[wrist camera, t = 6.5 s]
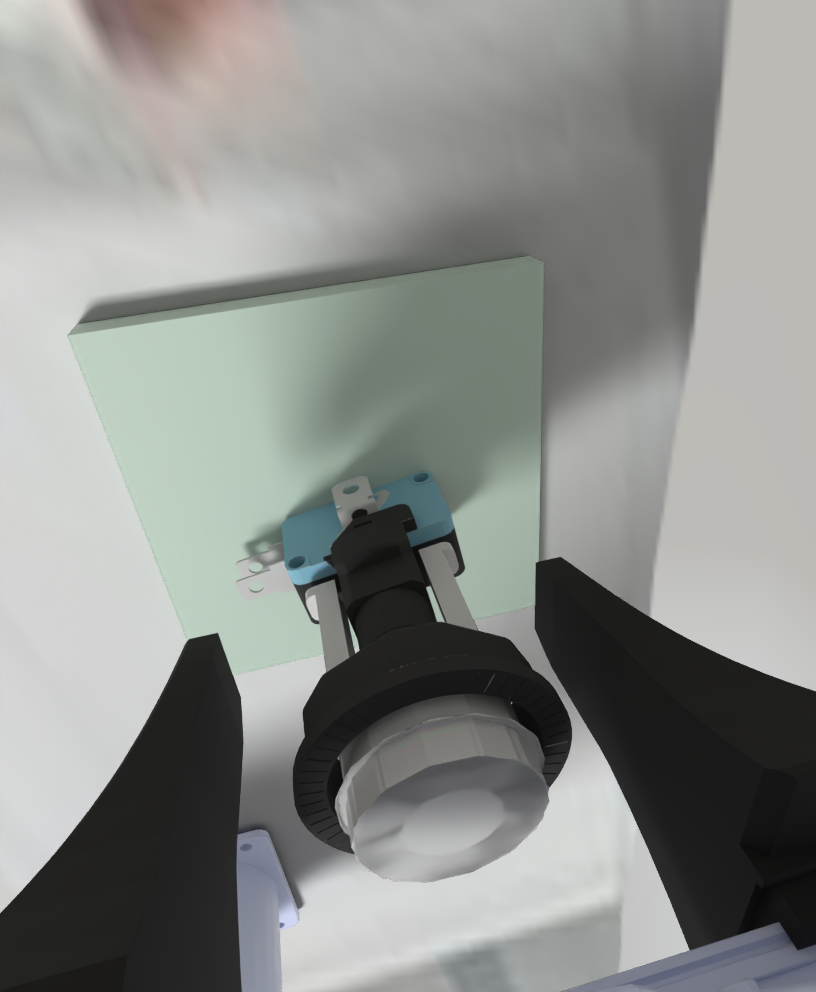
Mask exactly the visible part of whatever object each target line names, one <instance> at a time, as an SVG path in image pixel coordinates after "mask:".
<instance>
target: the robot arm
mask: <svg viewBox="0 0 816 992" xmlns="http://www.w3.org/2000/svg"><path fill="white" fill-rule="evenodd" d="M535 630H536V632H537V635H538V637H539V639H540V642H541V644H542V647H543V649H544V651H545V653H546V656H547V658H548V660H549V662H550V664H551V667H552V668H553V670H554V672H555V673H556V675H557V677H558V679H559V680H560V682H561V684H562V685H563V687H564V689H565V690H566V692H567V694H568V695H569V697H570V699H571V700H572V702H573V704H574V705H575V707H576V709H577V710H578V712H579V714H580V715H581V717H582V719H583V720H584V722H585V724H586V725H587V727H588V729H589V730H590V732H591V734H592V735H593V737H594V739H595V740H596V742H597V744H598V745H599V747H600V749H601V750H602V752H603V754H604V756H605V758H606V760H607V761H608V763H609V765H610V767H611V769H612V771H613V773H614V776H615V778H616V780H617V782H618V784H619V786H620V788H621V790H622V792H623V795H624V797H625V799H626V801H627V803H628V805H629V807H630V810H631V812H632V814H633V816H634V818H635V821H636V823H637V825H638V827H639V829H640V831H641V834H642V836H643V838H644V840H645V843H646V845H647V847H648V849H649V852H650V854H651V857H652V859H653V861H654V864H655V866H656V868H657V871H658V873H659V876H660V878H661V880H662V883H663V885H664V887H665V890H666V892H667V894H668V897H669V899H670V902H671V904H672V907H673V909H674V912H675V914H676V917H677V919H678V922H679V924H680V927H681V929H682V932H683V934H684V937H685V939H686V942H687V944H688V947H689V949H690V951H687V952H684V953H680V954H678V955H674V956H671V957H668V958H665V959H662V960H658V961H655V962H652V963H649V964H646V965H643V966H640V967H637V968H633V969H631V970H627V971H624V972H621V973H618V974H615V975H611V976H608V977H605V978H602V979H599V980H596V981H593V982H590V983H586V984H583V985H580V986H577V987H574V988H571V989H568V990H565V991H561V992H816V691H813V690H810V689H807V688H804V687H801V686H798V685H795V684H792V683H789V682H786V681H783V680H781V679H778V678H775V677H773V676H770V675H767V674H764V673H762V672H760V671H757V670H755V669H752V668H750V667H748V666H745V665H743V664H740V663H738V662H735V661H733V660H731V659H729V658H726V657H724V656H722V655H720V654H718V653H716V652H714V651H712V650H709V649H707V648H705V647H703V646H701V645H699V644H697V643H695V642H693V641H691V640H689V639H687V638H685V637H683V636H682V635H680V634H678V633H676V632H674V631H673V630H671V629H669V628H667V627H666V626H664V625H662V624H661V623H659V622H657V621H655V620H654V619H652V618H650V617H649V616H647V615H645V614H644V613H642V612H641V611H639V610H637V609H636V608H634V607H633V606H631V605H630V604H628V603H626V602H625V601H623V600H622V599H620V598H619V597H617V596H616V595H614V594H613V593H611V592H610V591H608V590H607V589H606V588H604V587H603V586H601V585H600V584H598V583H597V582H596V581H594V580H593V579H591V578H590V577H588V576H587V575H586V574H584V573H583V572H581V571H580V570H579V569H577V568H576V567H574V566H573V565H572V564H570V563H569V562H567V561H566V560H564V559H563V558H561V557H558V558H554V559H549V560H545V561H540V562H536V573H535ZM242 758H243V725H242V709H241V697H240V694H239V691H238V688H237V685H236V683H235V680H234V677H233V674H232V671H231V668H230V666H229V663H228V660H227V657H226V654H225V651H224V648H223V646H222V643H221V640H220V637H219V634H218V633H214V634H210V635H205V636H201V637H196V638H192V639H189V640H188V641H187V642H186V644H185V646H184V648H183V650H182V652H181V655H180V657H179V659H178V661H177V663H176V665H175V667H174V670H173V672H172V674H171V676H170V678H169V680H168V682H167V684H166V686H165V688H164V690H163V692H162V694H161V696H160V698H159V699H158V701H157V703H156V705H155V707H154V709H153V711H152V712H151V714H150V716H149V718H148V720H147V722H146V723H145V725H144V727H143V729H142V730H141V732H140V734H139V735H138V737H137V739H136V740H135V742H134V744H133V745H132V747H131V749H130V750H129V752H128V754H127V755H126V757H125V759H124V760H123V762H122V763H121V765H120V766H119V768H118V770H117V771H116V773H115V774H114V776H113V777H112V779H111V780H110V782H109V783H108V784H107V786H106V787H105V789H104V790H103V792H102V793H101V794H100V796H99V797H98V799H97V800H96V801H95V803H94V804H93V806H92V807H91V808H90V810H89V811H88V812H87V814H86V815H85V816H84V817H83V819H82V820H81V821H80V823H79V824H78V825H77V826H76V828H75V829H74V830H73V832H72V833H71V834H70V835H69V837H68V838H67V839H66V841H65V842H64V843H63V844H62V845H61V847H60V848H59V849H58V850H57V851H56V853H55V854H54V855H53V856H52V857H51V859H50V860H49V861H48V862H47V863H46V864H45V865H44V867H43V868H42V869H41V870H40V871H39V872H38V873H37V874H36V875H35V877H34V878H33V879H32V880H31V881H30V882H29V883H28V884H27V885H26V887H25V888H24V889H23V890H22V891H21V892H20V893H19V894H18V895H17V896H16V897H15V898H14V900H13V901H12V902H11V903H10V904H9V905H8V906H7V907H6V908H5V909H4V910H3V911H2V912H1V913H0V992H282V975H281V950H280V930H283V929H286V928H290V927H293V926H295V925H296V924H297V923H298V922H299V911H298V908H297V906H296V903H295V900H294V898H293V895H292V893H291V890H290V887H289V885H288V882H287V880H286V877H285V874H284V872H283V869H282V867H281V864H280V861H279V859H278V856H277V854H276V851H275V848H274V846H273V843H272V840H271V838H270V835H269V833H268V832H267V831H265V830H261V829H258V830H253V831H249V832H245V833H242V834H238V821H239V806H240V790H241V775H242Z"/></svg>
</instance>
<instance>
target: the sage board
mask: <svg viewBox="0 0 816 992" xmlns="http://www.w3.org/2000/svg"><path fill="white" fill-rule="evenodd" d="M543 299H544V262H542V261H540V260H538V259H536V258H534V257H532V256H524V257H517V258H511V259H504V260H498V261H491V262H484V263H478V264H471V265H464V266H458V267H451V268H445V269H438V270H431V271H425V272H418V273H412V274H405V275H398V276H392V277H385V278H379V279H372V280H365V281H359V282H352V283H346V284H339V285H332V286H326V287H319V288H313V289H306V290H299V291H293V292H286V293H279V294H273V295H266V296H260V297H253V298H246V299H240V300H233V301H227V302H220V303H213V304H207V305H200V306H194V307H187V308H180V309H174V310H167V311H161V312H154V313H147V314H141V315H134V316H127V317H121V318H114V319H108V320H101V321H94V322H88V323H81V324H77V325H76V326H75V327H74V328H73V329H72V331H71V332H70V333H69V334H68V335H67V336H68V339H69V341H70V344H71V346H72V349H73V351H74V354H75V357H76V359H77V362H78V364H79V367H80V369H81V372H82V374H83V377H84V379H85V382H86V385H87V387H88V390H89V392H90V395H91V397H92V400H93V402H94V405H95V408H96V410H97V413H98V415H99V418H100V420H101V423H102V425H103V428H104V430H105V433H106V436H107V438H108V441H109V443H110V446H111V448H112V451H113V453H114V456H115V458H116V461H117V464H118V466H119V469H120V471H121V474H122V476H123V479H124V481H125V484H126V486H127V489H128V492H129V494H130V497H131V499H132V502H133V504H134V507H135V509H136V512H137V514H138V517H139V520H140V522H141V525H142V527H143V530H144V532H145V535H146V537H147V540H148V543H149V545H150V548H151V550H152V553H153V555H154V558H155V560H156V563H157V565H158V568H159V571H160V573H161V576H162V578H163V581H164V583H165V586H166V588H167V591H168V593H169V596H170V599H171V601H172V604H173V606H174V609H175V611H176V614H177V616H178V619H179V621H180V624H181V627H182V629H183V632H184V634H185V637H186V639H187V641H188V640H189V639H192V638H196V637H201V636H205V635H210V634H214V633H218V634H219V637H220V640H221V643H222V646H223V648H224V651H225V654H226V657H227V660H228V663H229V666H230V668H231V671H232V674H233V675H237V674H241V673H245V672H250V671H254V670H258V669H263V668H267V667H271V666H276V665H280V664H284V663H289V662H293V661H298V660H302V659H306V658H311V657H315V656H319V655H324V652H323V645H322V638H321V631H320V624H314V623H312V622H311V620H310V618H309V616H308V614H307V612H306V609H305V607H304V605H303V603H302V601H301V599H300V597H299V595H298V593H297V591H296V589H295V590H292V591H289V592H286V593H284V594H282V592H281V590H280V591H277V592H274V593H271V594H268V595H265V596H262V597H260V598H257V599H254V600H251V601H248V602H247V601H244V600H243V598H242V597H241V595H240V593H239V591H238V589H237V588H236V586H235V583H236V581H237V580H239V579H242V577H241V575H240V573H239V571H238V569H237V567H236V563H237V561H239V560H242V559H245V558H248V557H251V556H254V555H257V554H260V553H263V552H266V551H268V550H269V549H268V546H270V545H273V544H276V543H279V542H282V541H283V534H282V524H283V522H284V521H285V520H286V519H288V518H290V517H292V516H295V515H298V514H300V513H303V512H306V511H309V510H312V509H315V508H318V507H321V506H324V505H327V504H330V503H333V502H334V498H333V493H332V488H333V487H334V486H335V485H336V484H338V483H341V482H344V481H347V480H350V479H353V478H356V477H359V476H365V477H367V478H368V481H369V484H370V487H371V489H374V488H377V487H380V486H382V485H385V484H388V483H391V482H394V481H397V480H400V479H403V478H406V477H408V476H409V475H412V474H415V473H418V472H422V471H426V472H430V473H431V474H432V476H433V478H434V480H435V482H436V484H437V486H438V488H439V490H440V492H441V494H442V496H443V498H444V500H445V502H446V504H447V506H448V507H449V509H450V512H451V516H452V520H453V524H454V527H455V531H456V535H457V539H458V542H459V546H460V550H461V553H462V557H463V561H464V565H465V571H464V572H463V573H462V574H461V575H459V576H457V577H455V579H456V582H457V584H458V586H459V588H460V591H461V593H462V595H463V597H464V599H465V602H466V604H467V606H468V608H469V611H470V613H471V615H472V617H473V620H476V619H480V618H485V617H489V616H493V615H498V614H502V613H506V612H511V611H515V610H520V609H524V608H528V607H533V606H535V573H536V562H539V518H540V463H541V409H542V354H543ZM358 489H359V487H358V486H352V487H349V488H347V489H346V490H345V491H344V494H352V493H354V492H356V491H357V490H358ZM262 568H263V566H262V564H260V563H258V562H255V563H252V564H250V566H249V569H250V570H251V571H253V572H258V571H260V570H261V569H262ZM249 588H250V589H251V590H252V591H259V590H261V589H262V588H263V584H262V583H261V582H258V581H255V582H252V583H251V584H250V585H249ZM426 588H427V591H428V594H429V598H430V601H431V604H432V607H433V610H434V613H435V616H436V619H437V622H444V619H443V617H442V614H441V611H440V609H439V606H438V604H437V601H436V599H435V596H434V594H433V591H432V588H431V586H429V587H426ZM348 621H349V619H348ZM349 626H350V631H351V636H352V641H353V646H354V647H358V646H359V645H358V640H357V637H356V635H355V632H354V630H353V628H352V626H351V623H350V621H349Z"/></svg>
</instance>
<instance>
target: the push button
mask: <svg viewBox="0 0 816 992" xmlns="http://www.w3.org/2000/svg"><path fill="white" fill-rule="evenodd" d="M352 486H358V487H359V489H358V490H357V491H356V492H354V493H352V494H344V491H345V490H346V489H347V488H349V487H352ZM332 493H333V498H334V502H333V503H330V504H327V505H324V506H321V507H318V508H315V509H312V510H309V511H306V512H303V513H300V514H298V515H295V516H292V517H290V518H288V519H286V520H285V521H284V522H283V524H282V534H283V541H282V542H279V543H276V544H273V545H270V546H268V549H269V550H268V551H266V552H263V553H260V554H257V555H254V556H251V557H248V558H245V559H242V560H239V561H237V563H236V567H237V569H238V571H239V573H240V575H241V577H242V579H239V580H237V581H236V583H235V586H236V588H237V589H238V591H239V593H240V595H241V597H242V598H243V600H244V601H247V602H248V601H251V600H254V599H257V598H260V597H262V596H265V595H268V594H271V593H274V592H277V591H280V590H281V592H282V594H284V593H286V592H289V591H292V590H295V589H296V591H297V593H298V595H299V597H300V599H301V601H302V603H303V605H304V607H305V609H306V612H307V614H308V616H309V618H310V620H311V622H312V623H314V624H320V631H321V638H322V645H323V652H324V659H325V666H326V673H325V674H324V675H323V676H322V677H321V678H320V680H319V682H318V684H317V685H316V687H315V689H314V691H313V693H312V694H311V696H310V698H309V700H308V701H307V703H306V705H305V707H304V709H303V722H304V733H305V738H304V739H303V741H302V743H301V745H300V747H299V750H298V752H297V755H296V758H295V762H294V767H293V791H294V801H295V806H296V809H297V813H298V815H299V817H300V819H301V821H302V822H303V824H304V825H305V826H306V828H307V829H308V830H309V831H310V832H311V833H312V834H313V835H314V836H315V837H317V838H318V839H320V840H321V841H323V842H324V843H326V844H328V845H330V846H332V847H334V848H336V849H339V850H342V851H344V852H348V853H352V854H355V858H356V860H357V861H358V862H360V863H361V864H362V866H363V868H364V869H365V870H367V871H369V872H372V873H374V874H377V875H378V876H380V877H381V878H382V879H389V880H391V881H395V882H423V883H426V882H434V881H438V880H442V879H446V878H450V877H454V876H458V875H462V874H466V873H470V872H473V871H475V870H477V869H479V868H481V867H483V866H485V865H487V864H489V863H491V862H493V861H495V860H497V859H499V858H501V857H503V856H505V855H507V854H509V853H510V852H511V851H512V850H514V849H515V848H516V847H517V846H518V845H519V844H520V843H521V842H522V841H523V840H524V839H525V838H527V837H528V836H529V835H530V834H531V833H532V832H533V831H534V830H535V829H536V828H537V827H538V824H539V823H540V822H541V821H542V820H543V816H544V812H545V809H546V807H547V805H548V803H549V797H548V790H549V787H550V786H551V785H552V784H553V782H554V781H555V780H556V778H557V777H558V775H559V774H560V772H561V770H562V768H563V767H564V764H565V762H566V760H567V758H568V754H569V751H570V747H571V741H572V727H571V721H570V718H569V715H568V712H567V710H566V708H565V707H564V705H563V703H562V701H561V699H560V697H559V696H558V694H557V692H556V690H555V689H554V688H553V686H552V685H551V684H550V683H549V682H548V681H547V680H546V679H545V678H544V677H543V676H542V675H540V674H539V673H537V672H536V671H534V670H533V669H532V668H531V666H530V664H529V662H528V661H527V660H526V659H525V658H524V656H523V655H522V654H521V653H520V652H519V650H518V649H517V648H516V647H515V645H514V644H513V643H512V642H511V641H510V640H509V639H507V638H505V637H501V636H497V635H493V634H489V633H485V632H481V631H478V629H477V626H476V624H475V622H474V620H473V617H472V615H471V613H470V611H469V608H468V606H467V604H466V602H465V599H464V597H463V595H462V593H461V591H460V588H459V586H458V584H457V582H456V579H455V577H457V576H459V575H461V574H462V573H463V572H464V571H465V565H464V561H463V557H462V553H461V550H460V546H459V542H458V539H457V535H456V531H455V527H454V524H453V520H452V516H451V512H450V509H449V507H448V506H447V504H446V502H445V500H444V498H443V496H442V494H441V492H440V490H439V488H438V486H437V484H436V482H435V480H434V478H433V476H432V474H431V473H430V472H426V471H422V472H418V473H415V474H412V475H409V476H408V477H406V478H403V479H400V480H397V481H394V482H391V483H388V484H385V485H382V486H380V487H377V488H374V489H371V487H370V484H369V481H368V478H367V477H365V476H359V477H356V478H353V479H350V480H347V481H344V482H341V483H338V484H336V485H335V486H334V487H333V488H332ZM255 562H258V563H260V564H262V566H263V568H262V569H261V570H260V571H258V572H253V571H251V570H250V569H249V566H250V564H252V563H255ZM255 581H258V582H261V583H262V584H263V588H262V589H261V590H259V591H252V590H251V589H250V588H249V585H250V584H251V583H252V582H255ZM429 586H431V588H432V591H433V594H434V596H435V599H436V601H437V604H438V606H439V609H440V611H441V614H442V617H443V619H444V622H437V619H436V616H435V613H434V610H433V607H432V604H431V601H430V598H429V594H428V591H427V588H426V587H429ZM348 619H349V621H350V623H351V626H352V628H353V630H354V632H355V635H356V637H357V640H358V645H359V649H360V651H359V652H357V653H355V651H354V646H353V641H352V636H351V631H350V626H349V621H348ZM510 701H511V702H513V703H512V705H511V702H510ZM338 756H339V757H340V761H339V760H338V759H337V758H338Z"/></svg>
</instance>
